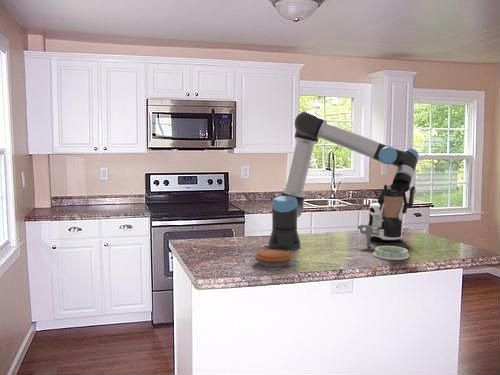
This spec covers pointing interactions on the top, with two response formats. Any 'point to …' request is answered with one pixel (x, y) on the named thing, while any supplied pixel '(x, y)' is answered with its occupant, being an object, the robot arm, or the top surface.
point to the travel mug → (392, 213)
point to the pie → (273, 258)
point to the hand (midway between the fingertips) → (390, 217)
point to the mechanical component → (368, 232)
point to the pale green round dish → (391, 253)
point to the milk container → (379, 224)
